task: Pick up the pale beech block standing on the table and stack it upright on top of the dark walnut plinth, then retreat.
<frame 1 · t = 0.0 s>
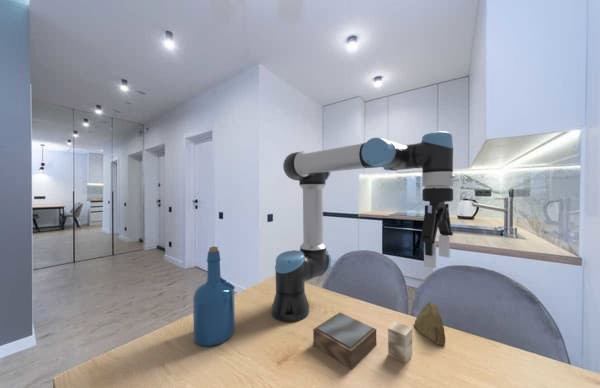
hand: (437, 261, 65), 28 cm above the table, fingers open, 13 cm apart
walnut plinth: (344, 344, 71), on the table
wine bottle: (215, 335, 77), on the table
beech block: (400, 354, 66), on the table
rock: (429, 335, 75), on the table
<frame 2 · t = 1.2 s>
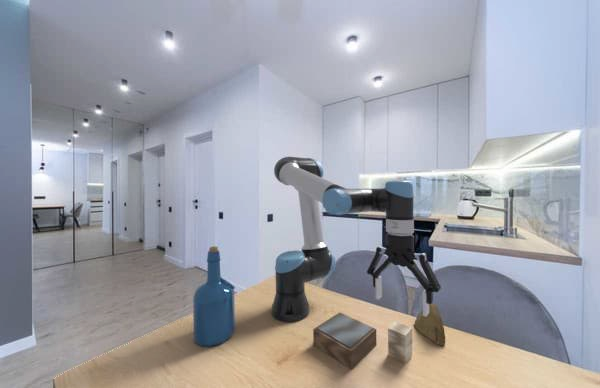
hand: (400, 305, 66), 15 cm above the table, fingers open, 13 cm apart
nothing on the table moved.
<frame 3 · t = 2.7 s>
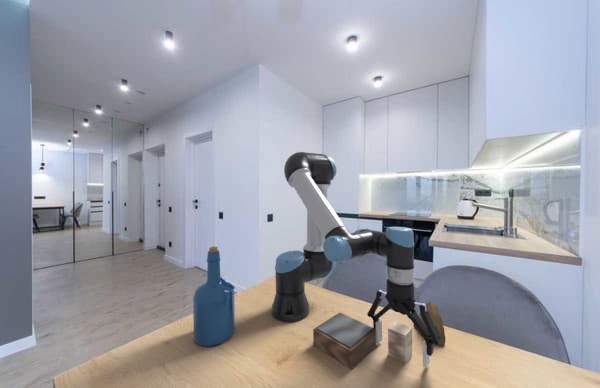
hand: (400, 352, 66), 1 cm above the table, fingers open, 13 cm apart
nothing on the table moved.
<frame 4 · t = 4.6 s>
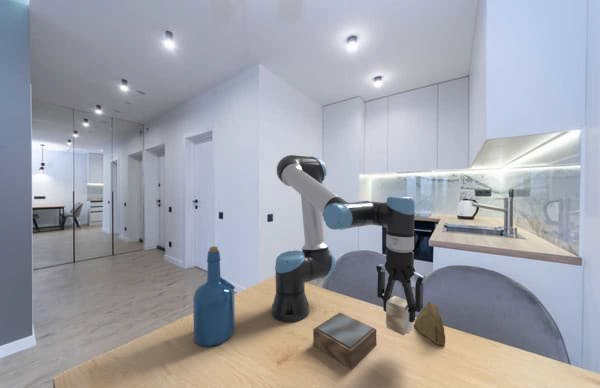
hand: (398, 326, 67), 8 cm above the table, fingers closed on beech block, 5 cm apart
beech block: (398, 328, 67), point 8 cm above the table, touching gripper
everything else where it was.
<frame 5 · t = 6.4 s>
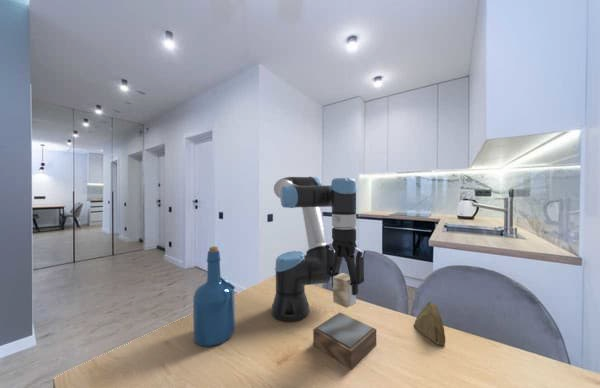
hand: (344, 301, 71), 14 cm above the table, fingers closed on beech block, 5 cm apart
beech block: (344, 302, 71), point 14 cm above the table, touching gripper
everything else where it was.
when the fingers open (6 cm above the table, at t = 8.4 s): beech block stays where it is, resting on walnut plinth.
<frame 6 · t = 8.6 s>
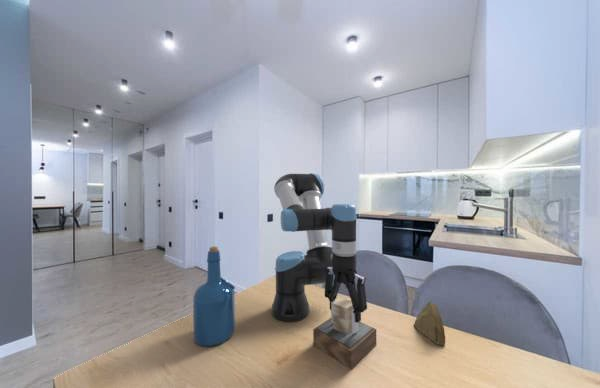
hand: (344, 325, 71), 6 cm above the table, fingers open, 7 cm apart
beech block: (344, 328, 71), point 5 cm above the table, touching walnut plinth
everything else where it was.
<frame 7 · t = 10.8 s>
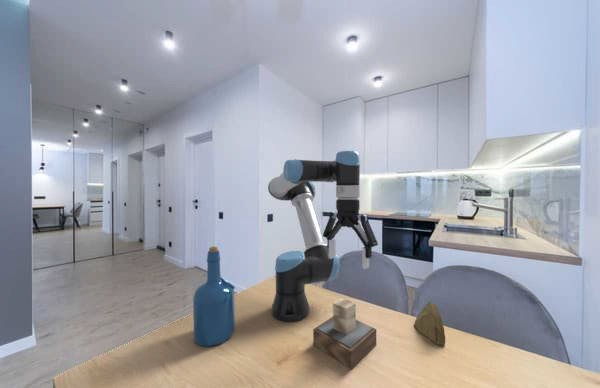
hand: (347, 262, 75), 25 cm above the table, fingers open, 13 cm apart
nothing on the table moved.
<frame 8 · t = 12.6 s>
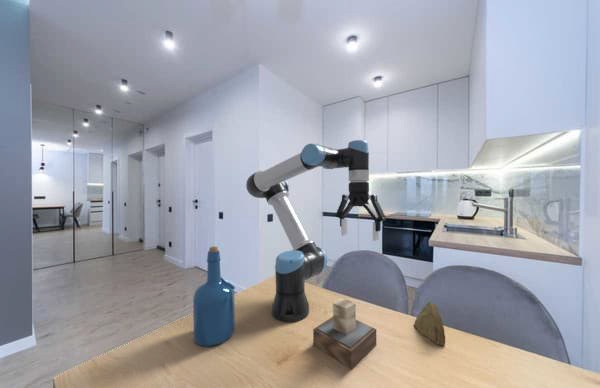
hand: (359, 237, 86), 31 cm above the table, fingers open, 13 cm apart
nothing on the table moved.
at the end: beech block inside the target area on the walnut plinth (0.1 cm from its centre), point 5.3 cm above the walnut plinth's base; beech block tilted 0°; beech block touching walnut plinth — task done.
